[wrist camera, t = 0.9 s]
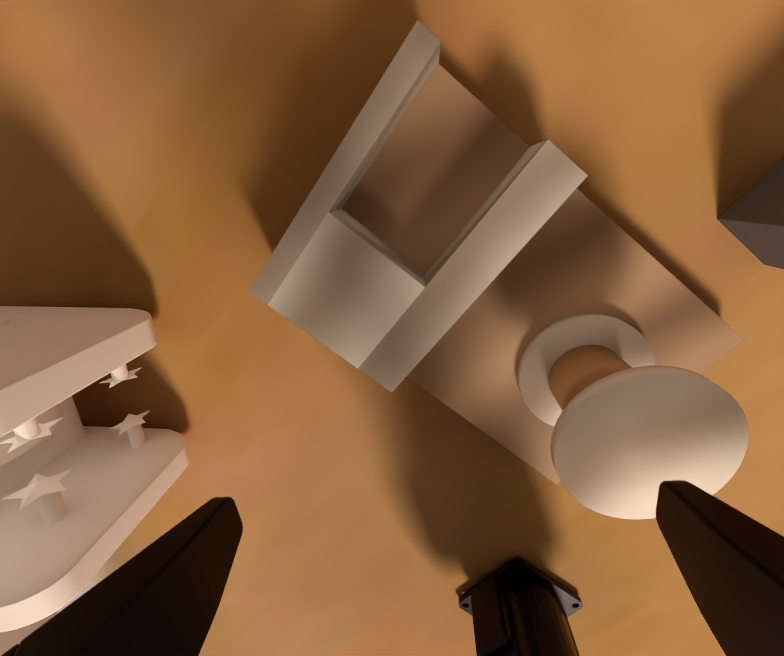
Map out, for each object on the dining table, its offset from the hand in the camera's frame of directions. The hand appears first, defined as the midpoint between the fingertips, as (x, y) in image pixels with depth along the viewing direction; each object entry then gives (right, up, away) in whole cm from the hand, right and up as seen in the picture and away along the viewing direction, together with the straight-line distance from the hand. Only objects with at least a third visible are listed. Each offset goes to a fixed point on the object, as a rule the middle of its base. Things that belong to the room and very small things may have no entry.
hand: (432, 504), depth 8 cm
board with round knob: (+5, +5, +12) cm, 14 cm away
